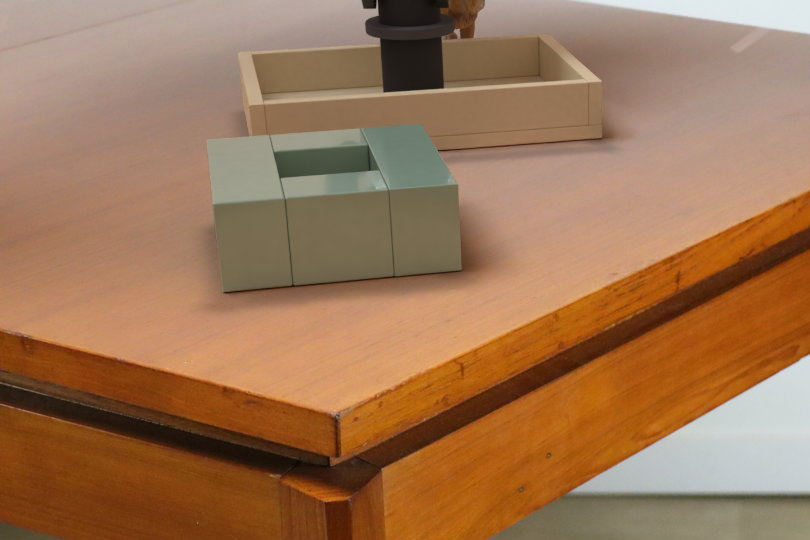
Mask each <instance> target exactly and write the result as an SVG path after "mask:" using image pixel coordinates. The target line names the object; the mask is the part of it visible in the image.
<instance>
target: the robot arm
mask: <svg viewBox="0 0 810 540" xmlns="http://www.w3.org/2000/svg"><path fill="white" fill-rule="evenodd" d="M361 4H362V8H363V10H376V9H377V7H378V0H361ZM436 4H437V8H449V7H450V0H436Z"/></svg>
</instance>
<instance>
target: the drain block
mask: <svg viewBox="0 0 810 540" xmlns="http://www.w3.org/2000/svg"><path fill="white" fill-rule="evenodd" d="M205 144H206V153H207V164H208V175H209V183H210V195H211V204H212V205H211V206H212V212H213V222H214V232H215V239H216V240H215V241H216V248H217V257H218V266H219V275H220V281H221V282H220V284H221V285H220V286H221V290H222V291H221V292H222V293H229V292H240V291H250V290H261V289H271V288H283V287H292V286H306V285H315V284H317V285H318V284H328V283H337V282H348V281H349V282H350V281H358V280H371V279H381V278H391V277H404V276H405V277H406V276H414V275H425V274H427V275H428V274H436V273H447V272H448V273H449V272H456V271H462V269H463V267H462V247H461V244H462V243H461V221H460V199H459V183H458V181H457V180H456V179H455V177H454V175H453V174H452V172H451V170H450V168H449V167H448V165H447V163H446V162H445V160H444V159H443V157H442V155H441V154H440V151H439V150H437V149H436V147H435V145H434V144H433V142H432V140H431V139H430V137H429V135H428V134H427V132H426V130H425V129H424V127H423V125H422V124H411V125H397V126H383V127H370V128H361V129H345V130H331V131H317V132H303V133H289V134H275V135H270V136H269V135H261V136H249V135H248V136H236V137H222V138H221V137H220V138H209V139H206V141H205Z"/></svg>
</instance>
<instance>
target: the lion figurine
mask: <svg viewBox="0 0 810 540" xmlns="http://www.w3.org/2000/svg"><path fill="white" fill-rule="evenodd" d="M485 3H486V0H450V7H449V8H440V11H441V14H445V15H449V16H451V17H453V18H454V20H455V30H459V38H458V34H457V33H456V32H455V31H454V32H452V33H450V34H448V35H445V36H442V40H451V39H468V38H474V36H475V31H476V30H475V29H476V19H477V18H478V13H480V11H482V10H483V9H484V8H485V5H486V4H485Z"/></svg>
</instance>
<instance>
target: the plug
mask: <svg viewBox="0 0 810 540" xmlns="http://www.w3.org/2000/svg"><path fill="white" fill-rule="evenodd" d="M364 28H365V33H366V35H367V36H370V37H372V38H375V39H379V44H380V47H381V63H382V79H383V93H386V92H401V91H416V90H431V89H444V76H443V55H442V36H445V35H448V34H450V33H452V32H454V33H455V30H456V29H455V20H454V18H453V17H451V16H449V15H445V14H441V11H440V8H437V4H436V0H377V15H375V16H372V17H369V18H368V19H366V20H365V22H364Z"/></svg>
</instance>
